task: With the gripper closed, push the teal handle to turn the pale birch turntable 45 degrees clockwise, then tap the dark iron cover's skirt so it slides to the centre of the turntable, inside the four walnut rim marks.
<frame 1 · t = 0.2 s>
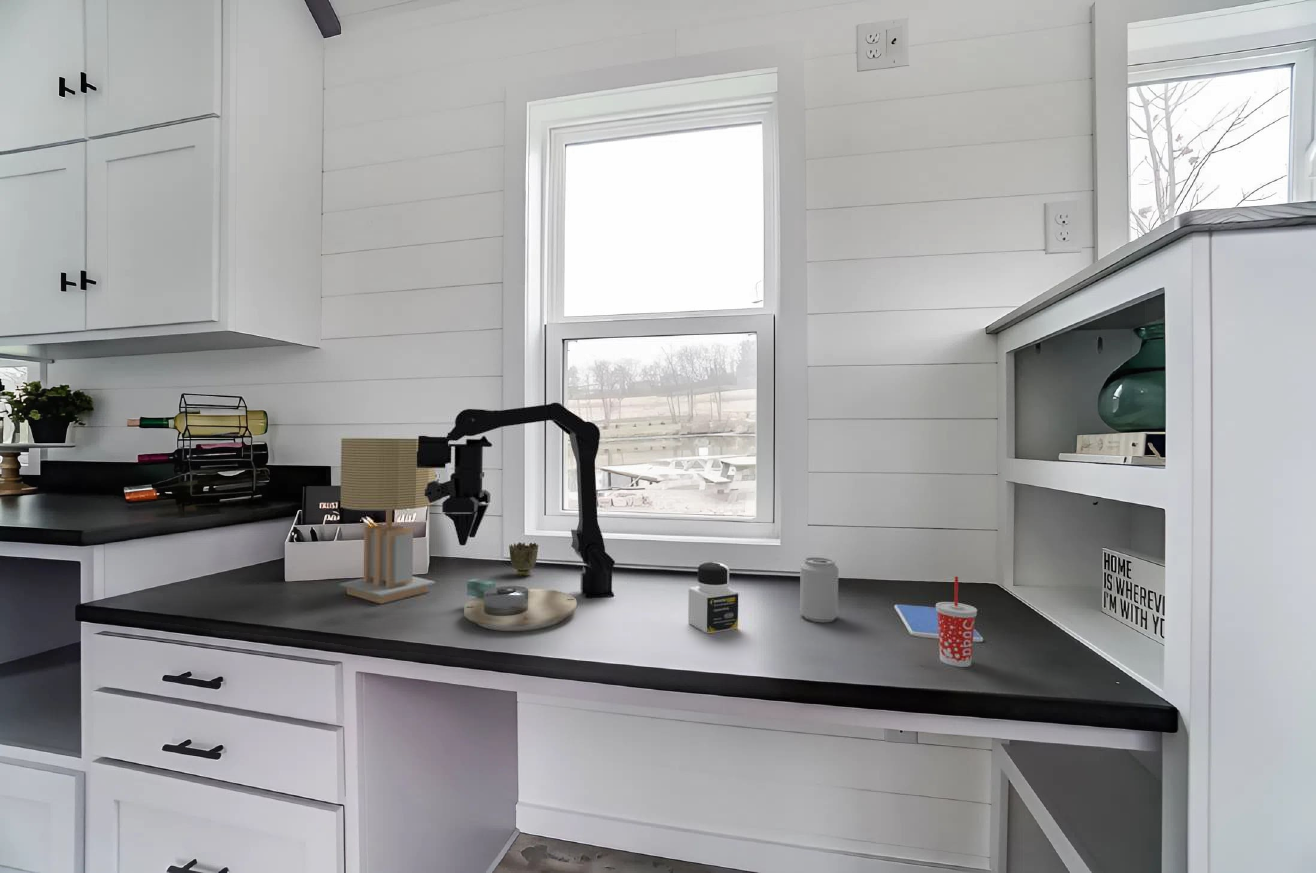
hand: (467, 541, 122), 14 cm above the counter, tool pointing down, fingers open, 9 cm apart
cup: (523, 576, 148), on the counter
can: (818, 618, 116), on the counter
turntable: (521, 598, 115), point 4 cm above the counter, hinge at 0.0°, touching iron cover
beverage cup: (955, 662, 94), on the counter
iron cover: (506, 609, 111), point 2 cm above the counter, touching turntable
medicine bottle: (712, 627, 110), on the counter
tablet computer: (935, 626, 114), on the counter
turntable base: (521, 615, 115), on the counter
desk lamp: (387, 593, 130), on the counter
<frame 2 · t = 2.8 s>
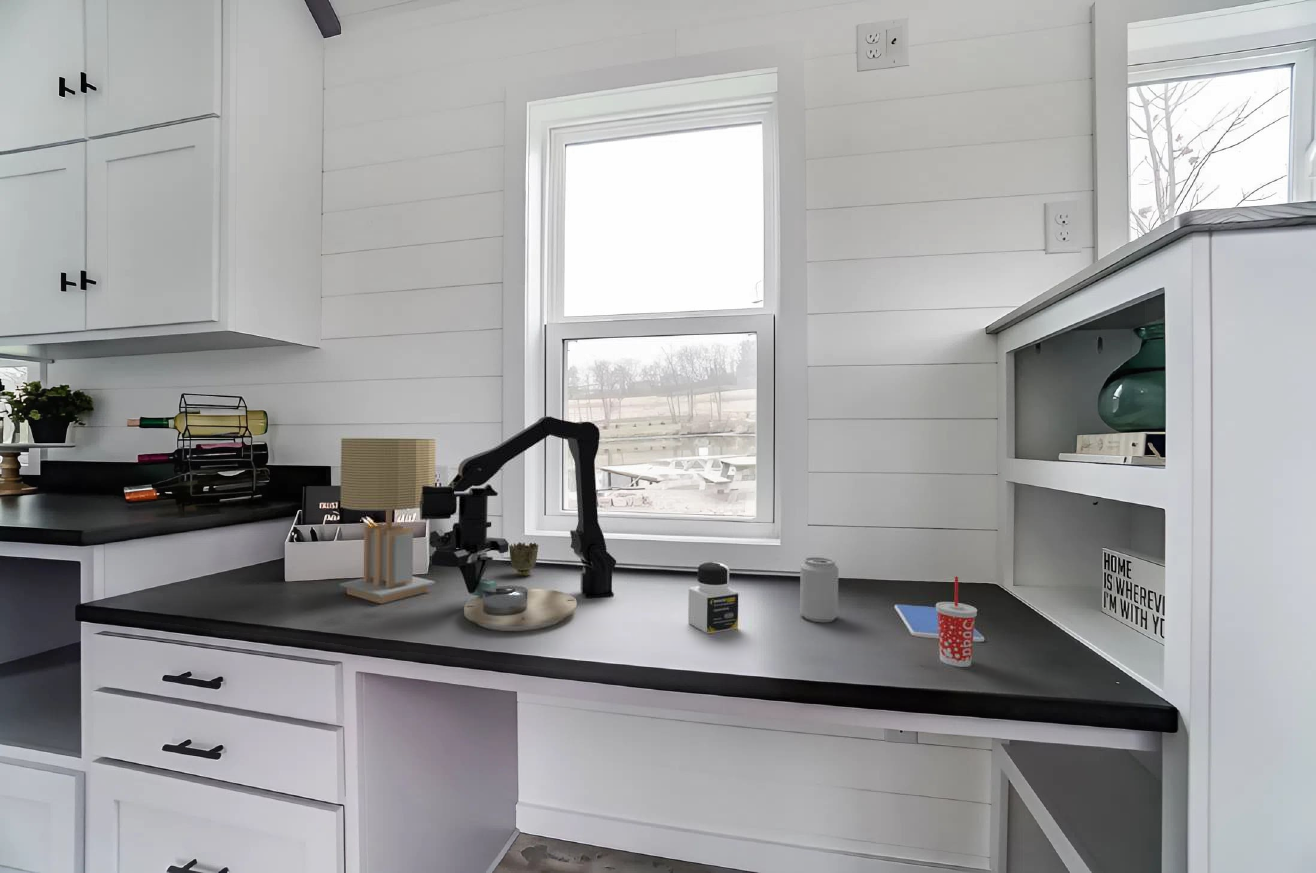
hand: (471, 592, 119), 3 cm above the counter, tool pointing down, fingers closed
turntable: (521, 598, 115), point 4 cm above the counter, hinge at -2.7°, touching gripper, iron cover
everything else where it was.
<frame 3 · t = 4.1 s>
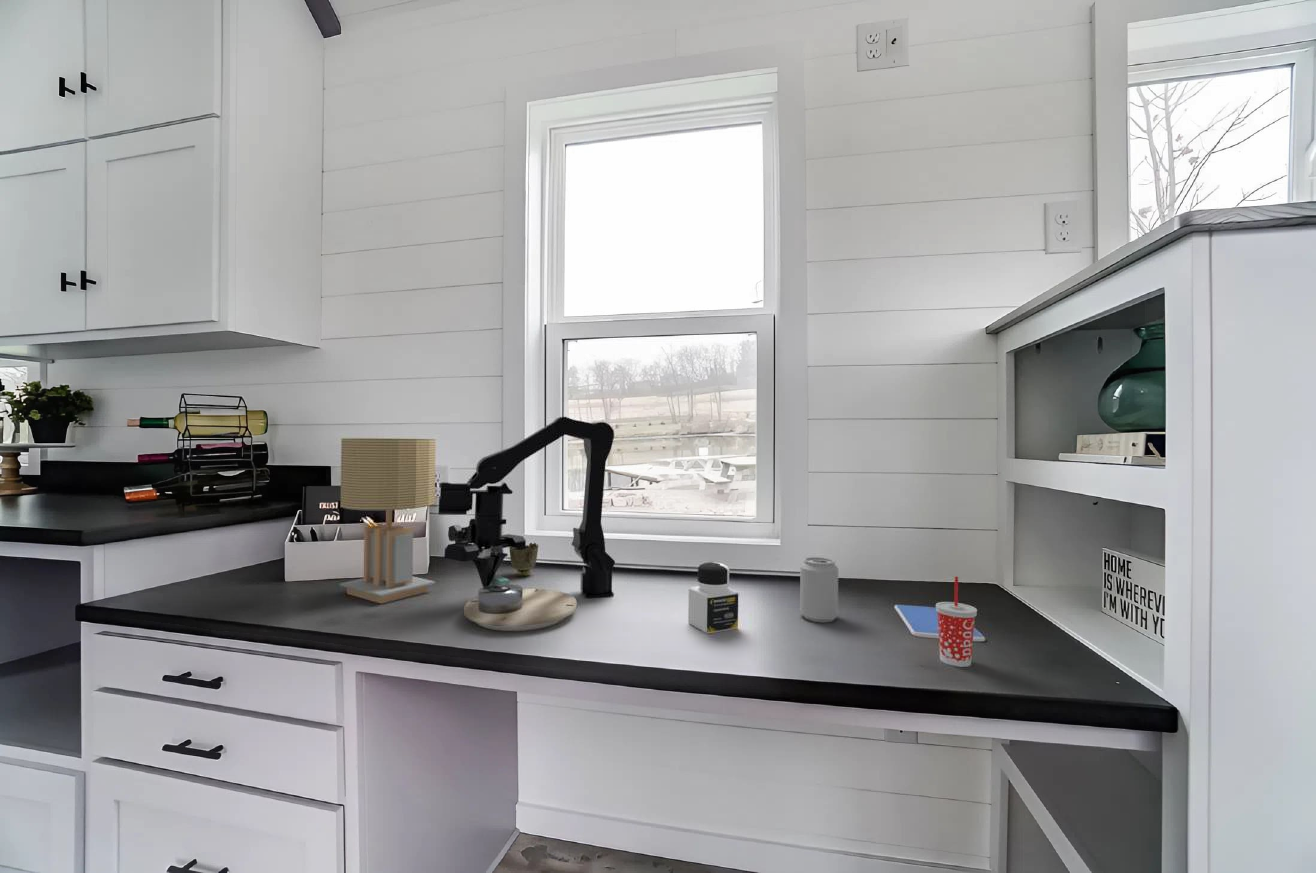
hand: (485, 586, 123), 4 cm above the counter, tool pointing down, fingers closed
turntable: (521, 598, 115), point 4 cm above the counter, hinge at -23.2°, touching gripper, iron cover
iron cover: (500, 607, 112), point 2 cm above the counter, touching turntable
everything else where it was.
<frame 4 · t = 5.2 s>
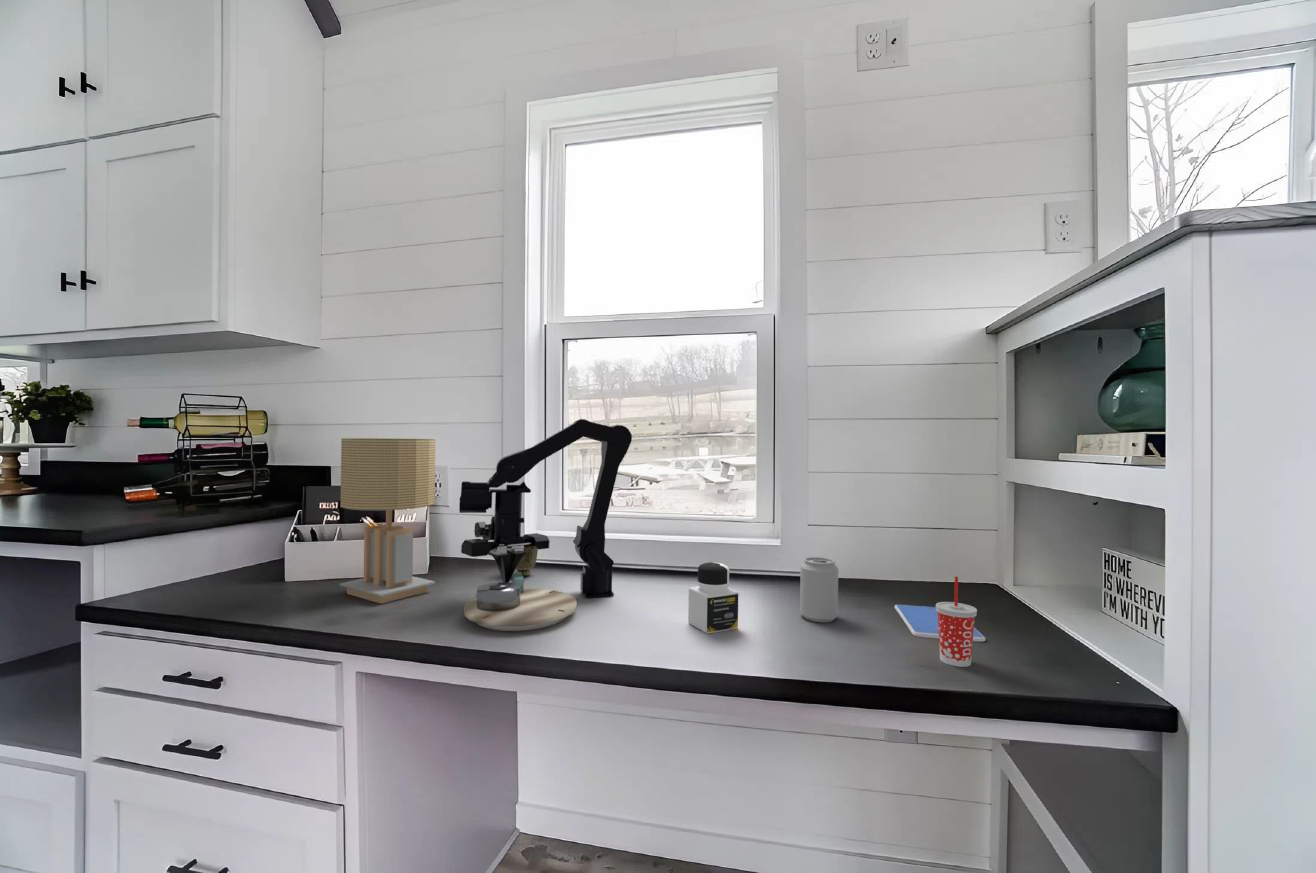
hand: (505, 583, 126), 4 cm above the counter, tool pointing down, fingers closed
turntable: (521, 598, 115), point 4 cm above the counter, hinge at -44.8°, touching gripper, iron cover
iron cover: (498, 605, 114), point 2 cm above the counter, touching turntable
everything else where it was.
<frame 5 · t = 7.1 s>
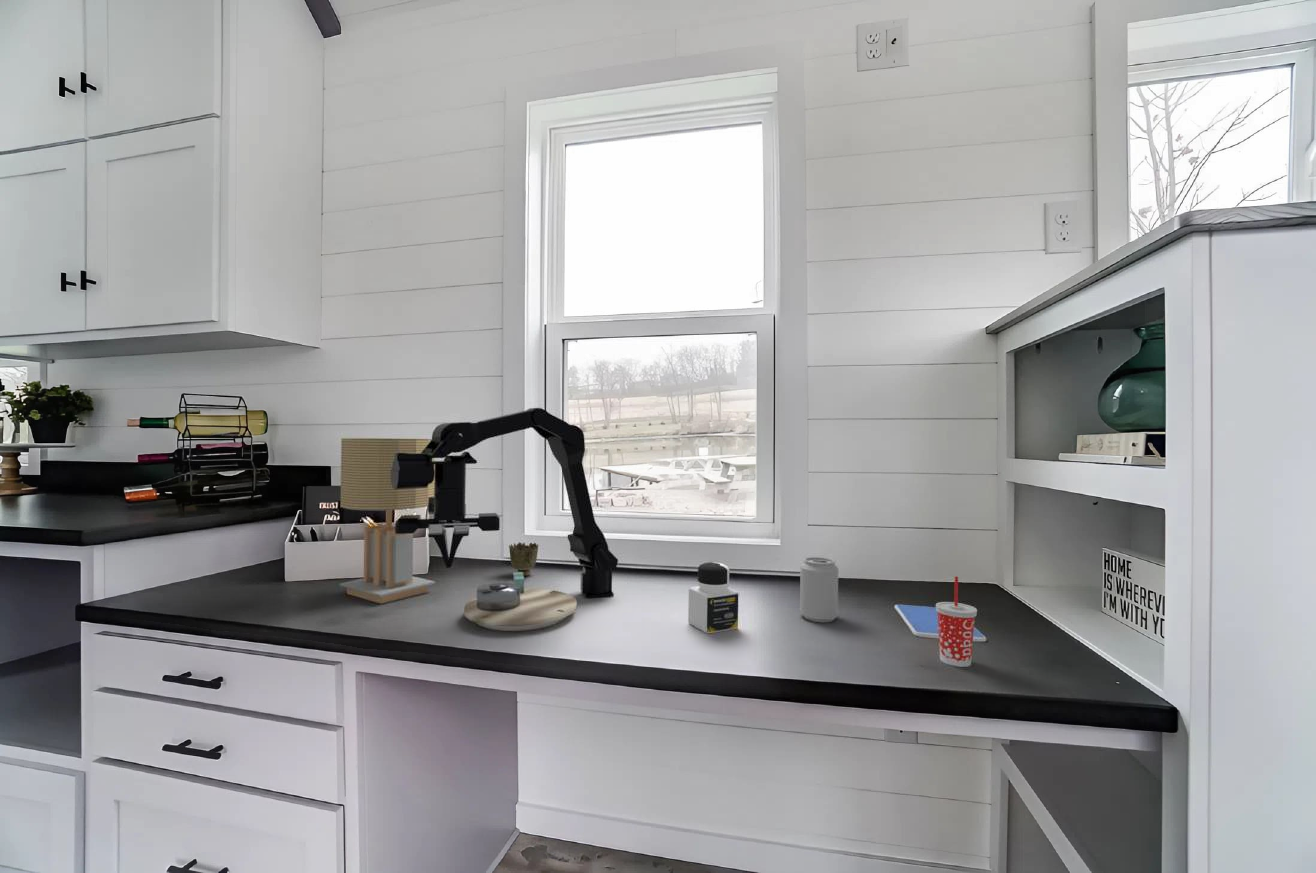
hand: (448, 567, 111), 11 cm above the counter, tool pointing down, fingers closed
turntable: (521, 598, 115), point 4 cm above the counter, hinge at -45.7°, touching iron cover
everything else where it was.
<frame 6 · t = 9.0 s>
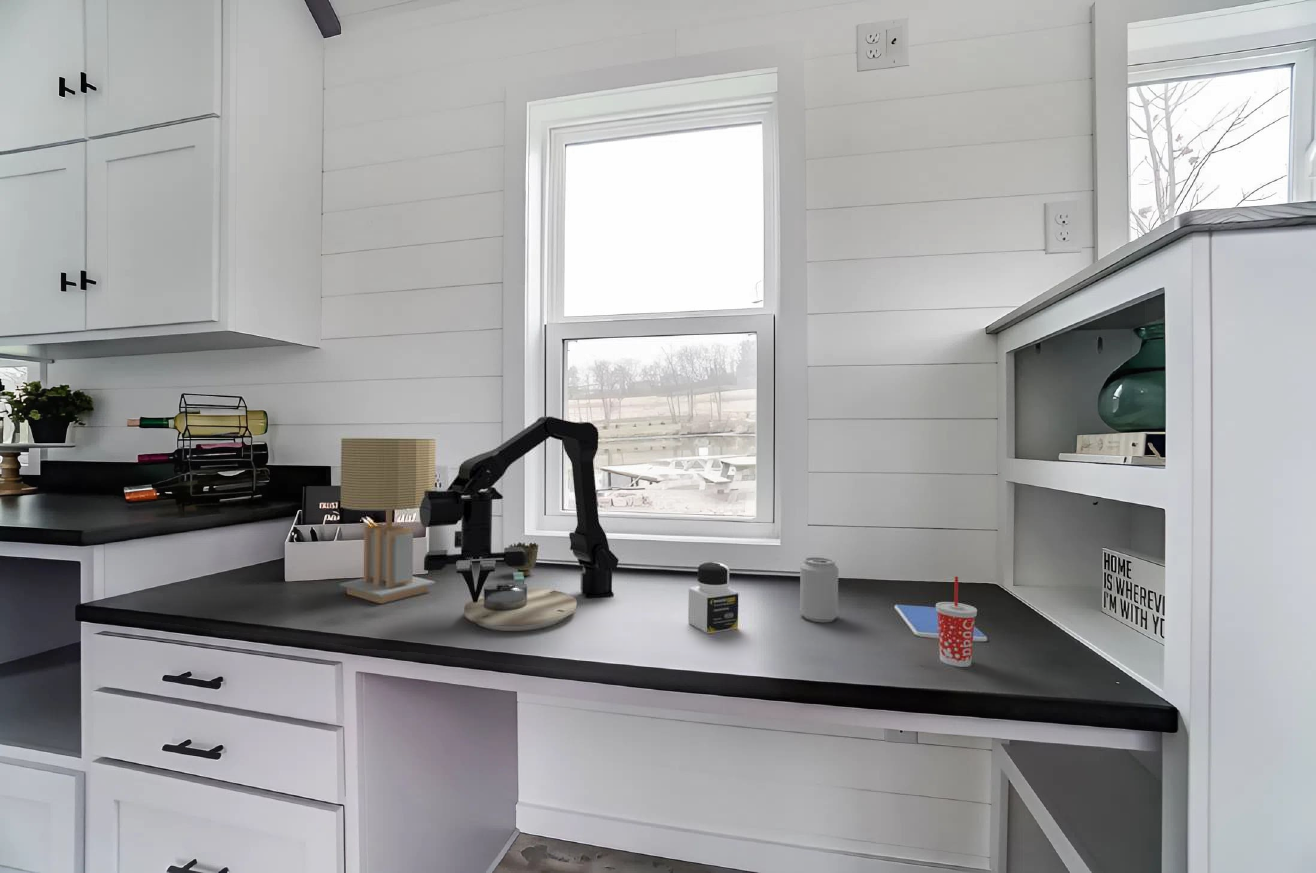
hand: (475, 601, 112), 3 cm above the counter, tool pointing down, fingers closed
iron cover: (505, 604, 114), point 2 cm above the counter, touching gripper, turntable
everything else where it was.
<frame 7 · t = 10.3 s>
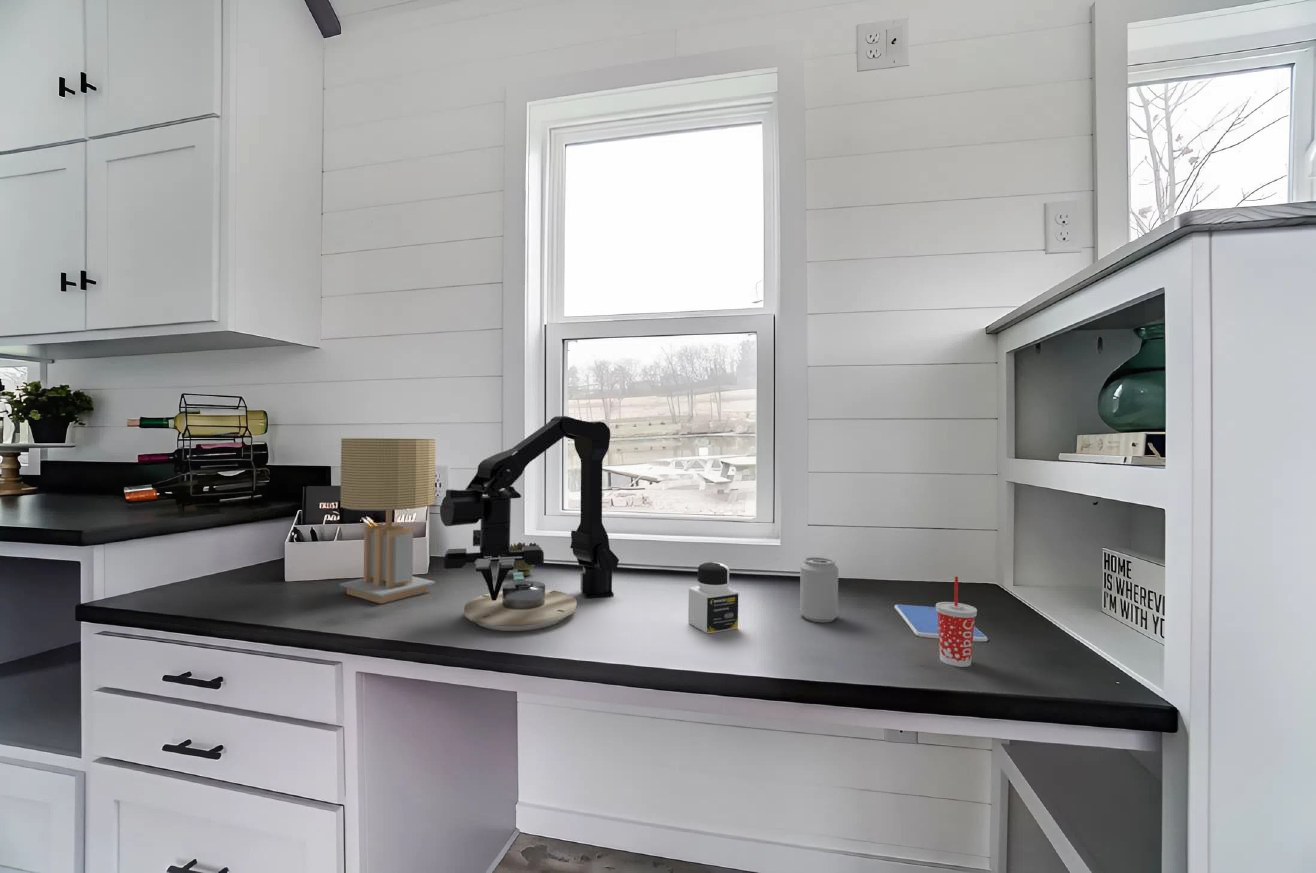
hand: (494, 599, 113), 4 cm above the counter, tool pointing down, fingers closed
iron cover: (523, 603, 115), point 2 cm above the counter, touching gripper, turntable
everything else where it was.
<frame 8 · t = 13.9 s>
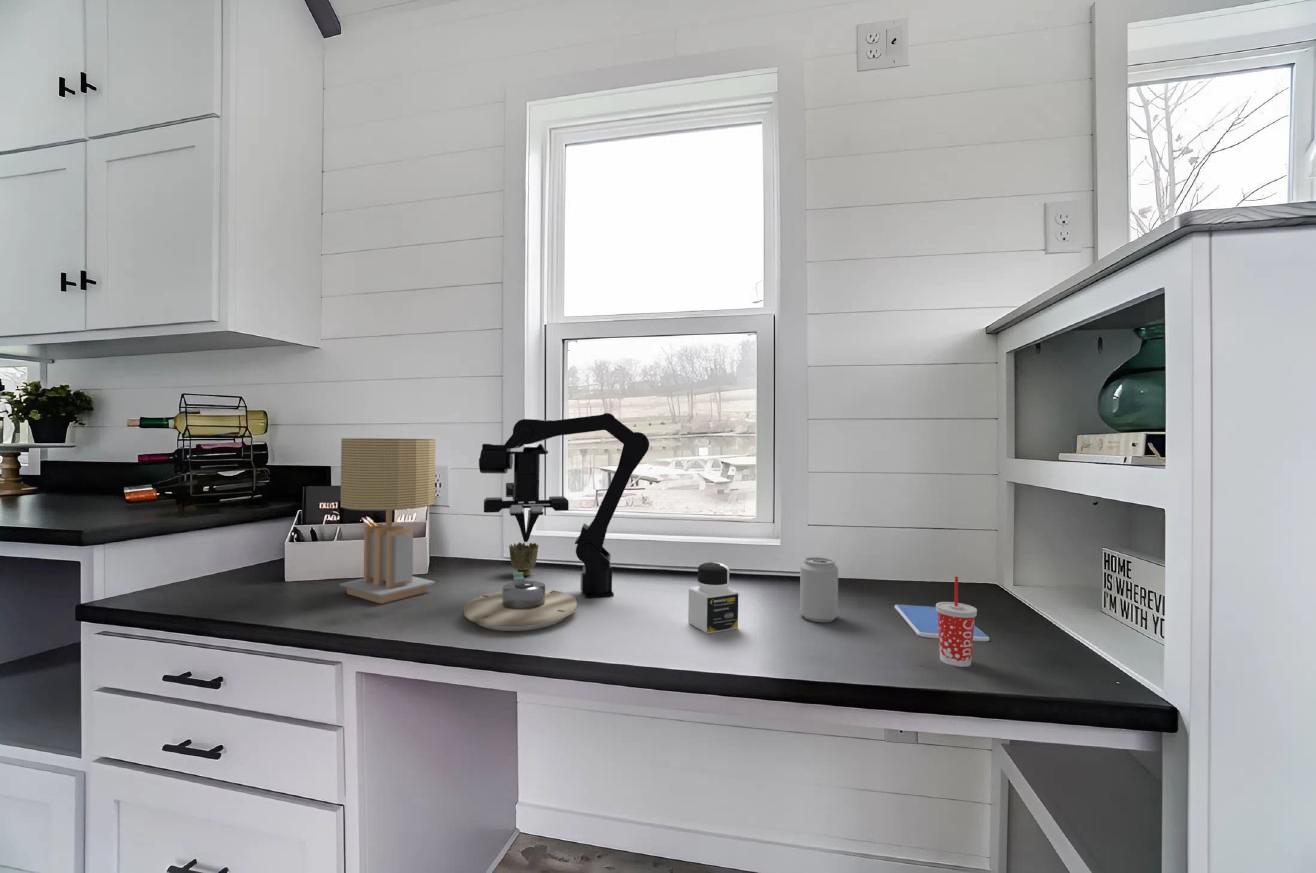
hand: (525, 541, 131), 12 cm above the counter, tool pointing down, fingers closed
iron cover: (523, 603, 115), point 2 cm above the counter, touching turntable
everything else where it was.
at the end: iron cover 0.4 cm off-centre on the turntable, point 2.5 cm above the turntable's base; turntable at -46° (first picture: +0°); iron cover tilted 0° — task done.
